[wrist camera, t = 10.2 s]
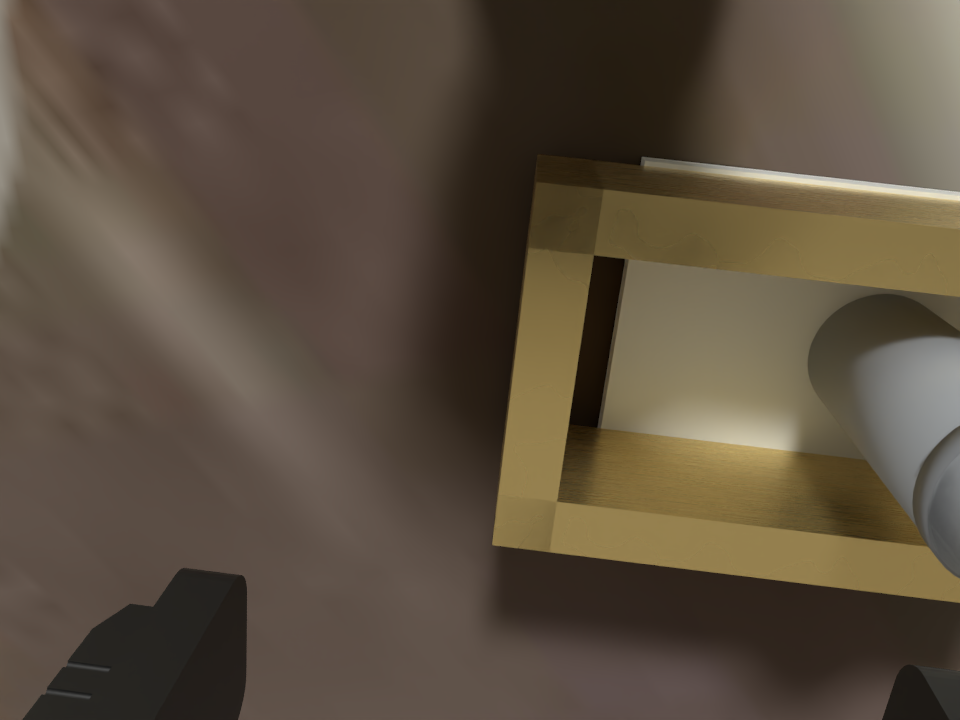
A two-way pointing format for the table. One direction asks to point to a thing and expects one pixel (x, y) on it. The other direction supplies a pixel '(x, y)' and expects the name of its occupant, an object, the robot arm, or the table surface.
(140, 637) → the robot arm
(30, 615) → the table surface
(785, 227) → the rectangular wooden frame
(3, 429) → the table surface
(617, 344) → the peg stand
